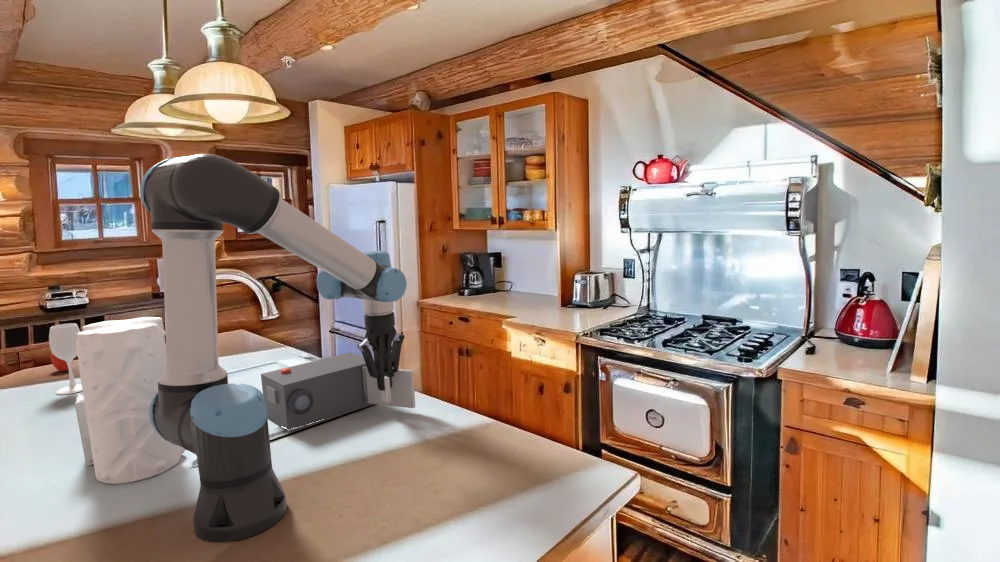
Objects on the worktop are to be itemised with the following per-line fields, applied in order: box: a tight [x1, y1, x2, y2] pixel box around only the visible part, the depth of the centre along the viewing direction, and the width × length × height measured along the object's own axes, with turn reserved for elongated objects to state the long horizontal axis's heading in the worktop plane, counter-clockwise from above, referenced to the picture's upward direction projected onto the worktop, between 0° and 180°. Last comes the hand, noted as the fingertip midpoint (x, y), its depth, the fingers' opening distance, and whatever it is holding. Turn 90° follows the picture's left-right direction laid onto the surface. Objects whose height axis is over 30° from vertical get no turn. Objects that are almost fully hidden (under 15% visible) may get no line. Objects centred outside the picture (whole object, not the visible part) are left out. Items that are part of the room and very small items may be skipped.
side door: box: [362, 366, 416, 409], centre depth 148 cm, size 2×15×10 cm, turn 69°
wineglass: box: [48, 322, 83, 396], centre depth 175 cm, size 9×9×21 cm
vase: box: [76, 316, 186, 485], centre depth 119 cm, size 17×16×32 cm
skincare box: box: [74, 393, 94, 466], centre depth 126 cm, size 8×6×15 cm
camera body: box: [260, 351, 374, 429], centre depth 149 cm, size 16×27×13 cm, turn 134°
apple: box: [50, 352, 74, 372], centre depth 198 cm, size 6×6×8 cm
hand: (386, 400), depth 144 cm, fingers closed
